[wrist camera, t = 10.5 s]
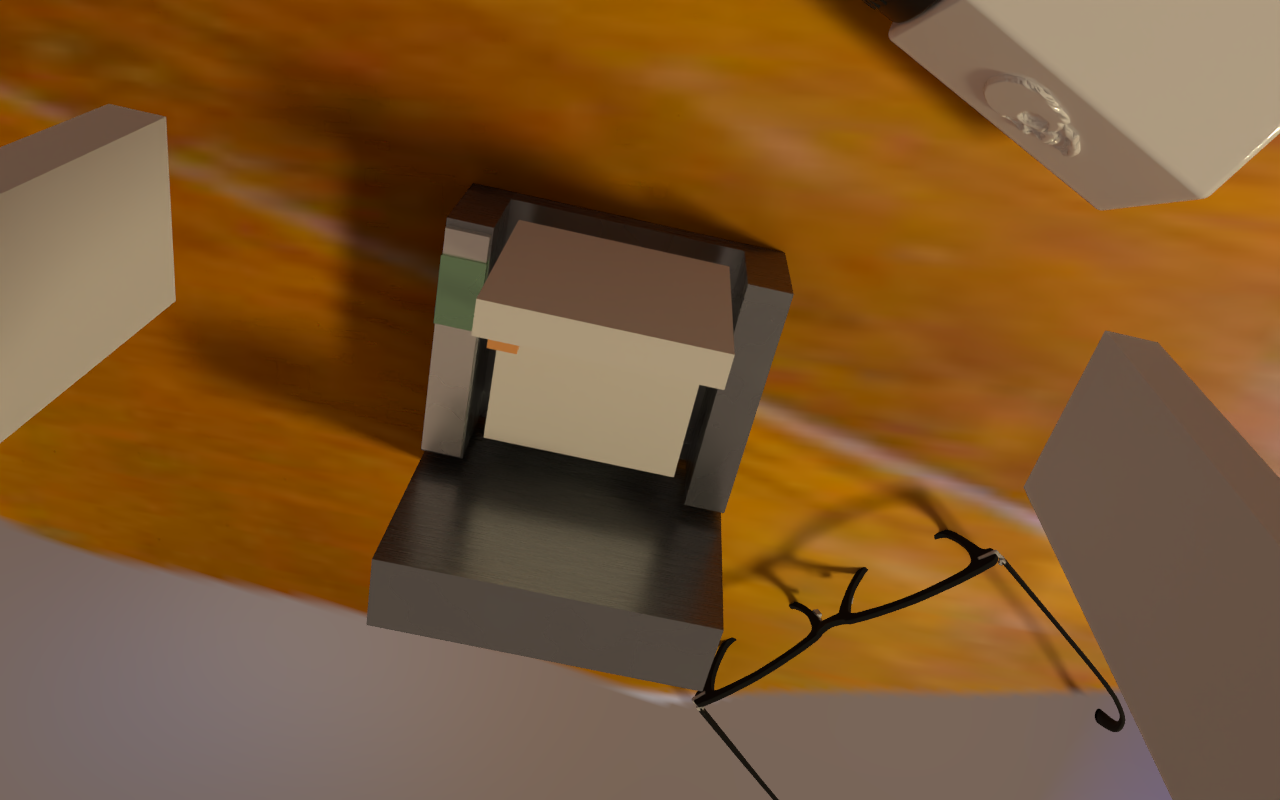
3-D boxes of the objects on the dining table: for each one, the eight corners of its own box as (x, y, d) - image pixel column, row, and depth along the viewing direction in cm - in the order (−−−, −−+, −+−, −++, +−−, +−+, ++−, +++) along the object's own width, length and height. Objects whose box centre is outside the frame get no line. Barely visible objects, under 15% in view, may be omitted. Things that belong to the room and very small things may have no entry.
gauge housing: (472, 183, 35) (395, 286, 26) (784, 252, 35) (810, 376, 27) (438, 466, 41) (366, 624, 32) (703, 521, 42) (702, 691, 33)
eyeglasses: (981, 489, 41) (1007, 546, 37) (1134, 704, 46) (1169, 771, 43) (676, 647, 46) (674, 710, 43) (845, 822, 52) (856, 890, 48)
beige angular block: (525, 207, 34) (476, 298, 27) (728, 252, 34) (734, 354, 27) (496, 398, 38) (446, 522, 31) (678, 436, 38) (671, 569, 31)
